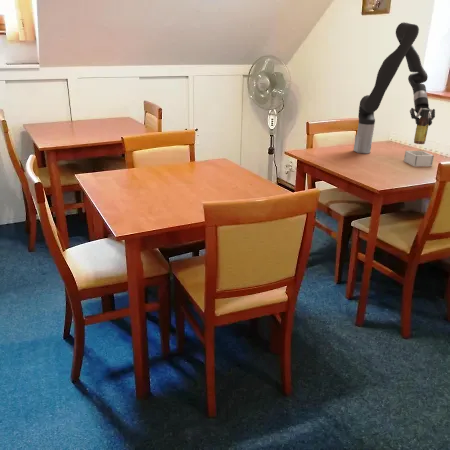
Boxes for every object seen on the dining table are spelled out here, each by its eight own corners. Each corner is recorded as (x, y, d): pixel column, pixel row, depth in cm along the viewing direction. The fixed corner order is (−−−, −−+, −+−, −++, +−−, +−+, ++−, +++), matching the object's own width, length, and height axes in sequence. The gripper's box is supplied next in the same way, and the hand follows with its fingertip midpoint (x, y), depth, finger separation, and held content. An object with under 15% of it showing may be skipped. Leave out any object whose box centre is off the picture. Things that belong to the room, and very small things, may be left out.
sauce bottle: (425, 145, 265) (433, 110, 257) (414, 144, 266) (421, 109, 258) (423, 142, 271) (430, 108, 263) (412, 141, 272) (419, 107, 264)
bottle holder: (414, 166, 251) (416, 155, 249) (403, 161, 261) (405, 150, 259) (431, 166, 252) (433, 155, 250) (420, 160, 263) (422, 150, 260)
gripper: (411, 95, 265) (414, 120, 259) (435, 97, 265) (439, 121, 259) (406, 103, 272) (409, 127, 266) (430, 105, 272) (433, 129, 266)
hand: (424, 124), depth 262 cm, fingers closed on sauce bottle, 6 cm apart
